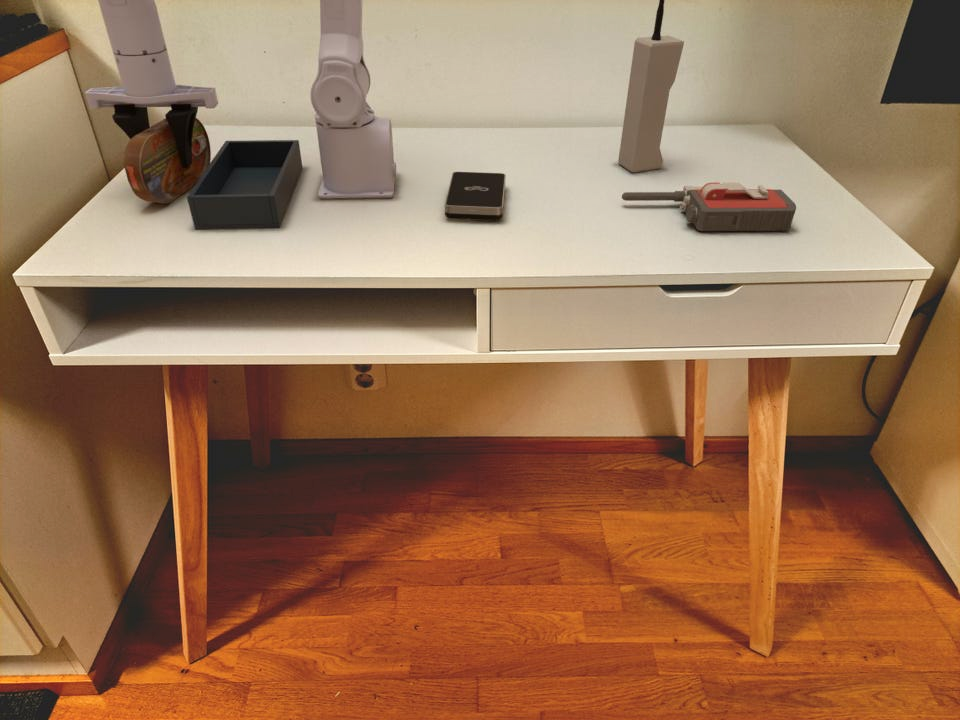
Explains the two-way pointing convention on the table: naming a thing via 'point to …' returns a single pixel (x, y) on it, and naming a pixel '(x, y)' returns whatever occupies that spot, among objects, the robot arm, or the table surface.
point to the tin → (164, 163)
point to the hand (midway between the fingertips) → (170, 165)
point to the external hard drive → (475, 196)
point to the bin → (247, 185)
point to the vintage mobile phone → (648, 98)
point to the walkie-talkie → (728, 207)
